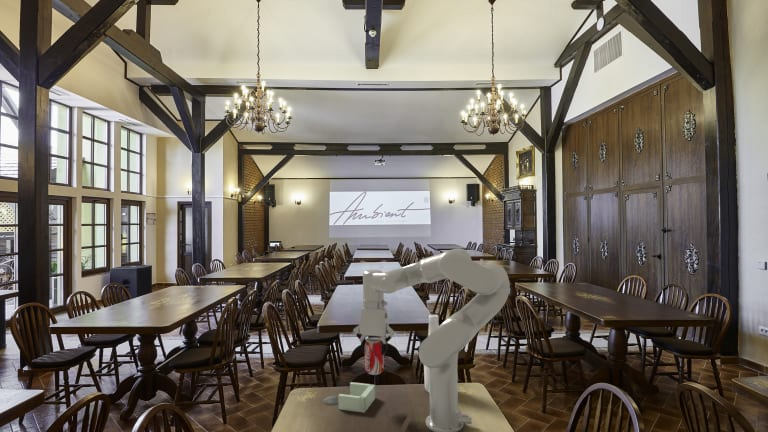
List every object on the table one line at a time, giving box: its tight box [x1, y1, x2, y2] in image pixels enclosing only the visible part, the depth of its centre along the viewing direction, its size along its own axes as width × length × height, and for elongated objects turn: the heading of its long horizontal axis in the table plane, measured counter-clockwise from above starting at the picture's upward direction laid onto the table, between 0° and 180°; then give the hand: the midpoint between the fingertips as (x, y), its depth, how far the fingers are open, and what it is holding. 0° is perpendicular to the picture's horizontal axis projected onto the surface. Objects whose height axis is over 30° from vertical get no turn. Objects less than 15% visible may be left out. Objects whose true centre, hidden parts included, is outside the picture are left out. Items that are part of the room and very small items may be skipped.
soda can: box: [364, 336, 385, 376], centre depth 150 cm, size 7×7×12 cm
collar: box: [337, 381, 377, 413], centre depth 152 cm, size 10×12×5 cm
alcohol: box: [423, 314, 440, 393], centre depth 166 cm, size 9×9×30 cm
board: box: [322, 395, 339, 406], centre depth 154 cm, size 16×12×2 cm
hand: (374, 352), depth 150 cm, fingers closed on soda can, 7 cm apart
